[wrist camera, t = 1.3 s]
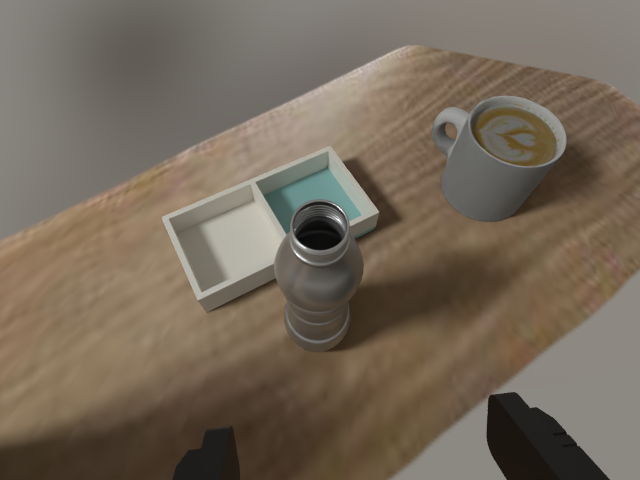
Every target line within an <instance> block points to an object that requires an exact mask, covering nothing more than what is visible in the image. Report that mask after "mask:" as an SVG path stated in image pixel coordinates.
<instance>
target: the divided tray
mask: <svg viewBox="0 0 640 480" xmlns="http://www.w3.org/2000/svg"><path fill="white" fill-rule="evenodd" d="M316 199H324V200H329V201H332V202H334V203H336V204H337V205H339V206H340V207H341V208H342V209H343V210H344V211H345V213H346V214H347V216H348V219H349V223H350V234H351V235H352V236H353V237H354V239H356V238H358V237H360V236H362V235H364V234H366V233H368V232H370V231H372V230H374V229H375V227H376V223H377V220H378V216H379V211H378V209H377V208H376V207H375V205H374V204H373V203H372V201H371V200H370V199H369V197H368V196H367V195H366V193H365V192H364V191H363V189H362V188H361V187H360V185H359V184H358V183H357V181H356V180H355V178H354V177H353V176H352V174H351V173H350V172H349V170H348V169H347V168H346V166H345V165H344V164H343V162H342V161H341V160H340V158H339V157H338V156H337V154H336V153H335V152H334V150H333V149H332V147H331V146H328V147H326V148H324V149H321V150H319V151H317V152H314V153H312V154H309V155H307V156H305V157H302V158H300V159H298V160H295V161H293V162H291V163H288V164H286V165H283V166H281V167H279V168H276V169H274V170H272V171H269V172H267V173H264V174H262V175H260V176H257V177H255V178H253V179H250V180H248V181H246V182H243V183H241V184H238V185H236V186H234V187H231V188H229V189H227V190H224V191H222V192H220V193H217V194H215V195H212V196H210V197H208V198H205V199H203V200H201V201H198V202H196V203H193V204H191V205H189V206H186V207H184V208H182V209H179V210H177V211H175V212H172V213H170V214H167V215H165V216H163V217H161V218H162V220H163V222H164V224H165V227H166V229H167V231H168V234H169V236H170V238H171V240H172V243H173V245H174V247H175V249H176V252H177V254H178V256H179V259H180V261H181V263H182V265H183V268H184V270H185V272H186V275H187V277H188V279H189V281H190V284H191V286H192V288H193V290H194V293H195V295H196V297H197V300H198V301H199V303H200V304H201V305H202V307H203V308H204V310H205V311H206V312H209V311H211V310H213V309H215V308H217V307H219V306H221V305H223V304H225V303H227V302H229V301H231V300H233V299H235V298H237V297H239V296H241V295H243V294H245V293H247V292H249V291H251V290H253V289H255V288H257V287H259V286H261V285H263V284H265V283H267V282H269V281H271V280H273V279H275V278H276V276H275V272H274V261H275V255H276V253H277V250H278V248H279V246H280V244H281V242H282V240H283V239H284V237H285V236H286V235H287V234H288V233H289V232H290V223H291V219H292V216H293V214H294V212H295V211H296V209H297V208H298V207H299V206H301V205H302V204H304V203H306V202H308V201H311V200H316Z"/></svg>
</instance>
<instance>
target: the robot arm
mask: <svg viewBox="0 0 640 480" xmlns="http://www.w3.org/2000/svg"><path fill="white" fill-rule="evenodd" d="M487 442H488V446H489V449H490V452H491V454H492V456H493V458H494V460H495V461H496V463H497V465H498V466H499V468H500V469H501V471H502V473H503V474H504V476H505V477H506V479H507V480H610V479H609V478H608V477H607V476H606V475H605V474H604V473H603V472H602V471H601V469H600V468H598V466H597V465H596V464H595V463H594V462H593V461H592V460H591V458H590V457H589V456H588V455H587V454H586V453H585V452H584V451H583V450H582V449H581V448H580V446H577V443H576V442H575V441H574V440H573V439H572V438H571V437H570V436H569V435H567V433H566V431H565V430H564V429H563V428H562V427H561V426H560V424H559V423H558V422H557V421H556V420H555V419H554V418H553V417H551V416H549V415H548V414H546V413H545V412H543V411H541V410H540V409H538V408H536V407H535V408H529V406H528V405H527V404H526V403H525V402H524V401H523V399H522V398H521V397H520V396H519V395H518V394H517V393H515V392H511V393H504V394H495V395H490V396H489V399H488V416H487ZM173 480H240V469H239V462H238V456H237V450H236V444H235V438H234V432H233V428H232V426H229V427H221V428H213V429H207V430H206V432H205V435H204V439H203V443H202V447H201V449H196V450H188V452H187V453H186V454H185V456H184V457H183V458H182V460H181V461H180V462H179V464H178V465H177V467H176V470H175V473H174V476H173Z"/></svg>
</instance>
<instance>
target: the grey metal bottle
mask: <svg viewBox="0 0 640 480" xmlns="http://www.w3.org/2000/svg"><path fill="white" fill-rule="evenodd" d="M363 268H364V263H363V257H362V254H361V251H360V249H359V246H358V244H357V242H356V241H355V239H354V237H353V236H352V235H351V234H350V223H349V219H348V216H347V214H346V213H345V211H344V210H343V209H342V208H341V207H340V206H339V205H337V204H336V203H334V202H332V201H329V200H324V199H316V200H311V201H308V202H306V203H304V204H302V205H301V206H299V207H298V208H297V209H296V211H295V212H294V214H293V216H292V219H291V223H290V232H289V233H288V234H287V235H286V236H285V237H284V239H283V240H282V242H281V244H280V246H279V248H278V250H277V253H276V255H275V261H274V272H275V276H276V280H277V283H278V285H279V287H280V289H281V291H282V293H283V294H284V296H285V297H286V299H287V303H286V307H285V313H284V323H285V327H286V330H287V332H288V334H289V336H290V337H291V339H292V340H293V341H294V342H295V343H296V344H297V345H299V346H300V347H302V348H303V349H305V350H308V351H312V352H323V351H326V350H329V349H331V348H333V347H335V346H336V345H337V344H338V343H340V342H341V341H342V339H343V338H344V337H345V336H346V334H347V332H348V330H349V326H350V318H351V316H350V308H349V304H348V303H349V300H350V299H351V298H352V296H353V295H354V294H355V292H356V290H357V288H358V286H359V284H360V282H361V279H362V276H363Z"/></svg>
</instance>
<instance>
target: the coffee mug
mask: <svg viewBox="0 0 640 480" xmlns="http://www.w3.org/2000/svg"><path fill="white" fill-rule="evenodd" d="M446 123H452V124H453V125H454V126H456V129H457V138H456V140H453V139H451V138H449V137H448V136H447V135H446V132H445V126H446ZM432 138H433V141H434V142H435V144H436V145H437V147H438V148H439V149H440V150H441V151H442V152H443V153H444V154H445V155H446V156H447V164H446V167H445V169H444V172H443V174H442V177H441V187H442V191H443V194H444V196H445V198H446V200H447V201H448V202H449V203H450V205H451V206H452V207H453V208H454V209H456V210H457V211H458V212H460V213H461V214H463V215H465V216H467V217H469V218H472V219H475V220H479V221H486V222H493V221H500V220H503V219H506V218H508V217H510V216H512V215H513V214H514V213H515V212H516V211H517V210H518V209H519V207H520V206H521V205H522V204H523V203H524V201H525V200H526V199H527V198H528V196H529V195H530V194H531V193H532V192H533V190H534V189H535V188H536V187H537V185H538V184H539V183H540V182H541V181H542V179H543V178H544V177H545V176H546V174H547V173H548V172H549V171H550V170H551V168H552V167H553V166H554V165H555V163H556V162H557V161H558V160H559V158H560V157H561V156H562V154H563V152H564V150H565V148H566V142H567V139H566V133H565V130H564V128H563V126H562V124H561V123H560V121H559V120H558V118H557V117H556V116H555V115H554V114H553V113H551V112H550V111H549V110H548V109H546V108H545V107H543V106H541V105H540V104H538V103H536V102H533V101H531V100H528V99H525V98H521V97H516V96H496V97H491V98H488V99H486V100H483V101H482V102H480V103H478V104H477V105H476V106H475V107H474V108H473V109H472V111H471V112H470V114H469V113H468V112H466V111H464V110H462V109H460V108H456V107H450V108H447V109H445V110H443V111H442V112H441V113H440V114H439V115H438V116H437V118H436V119H435V121H434V124H433V128H432Z"/></svg>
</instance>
